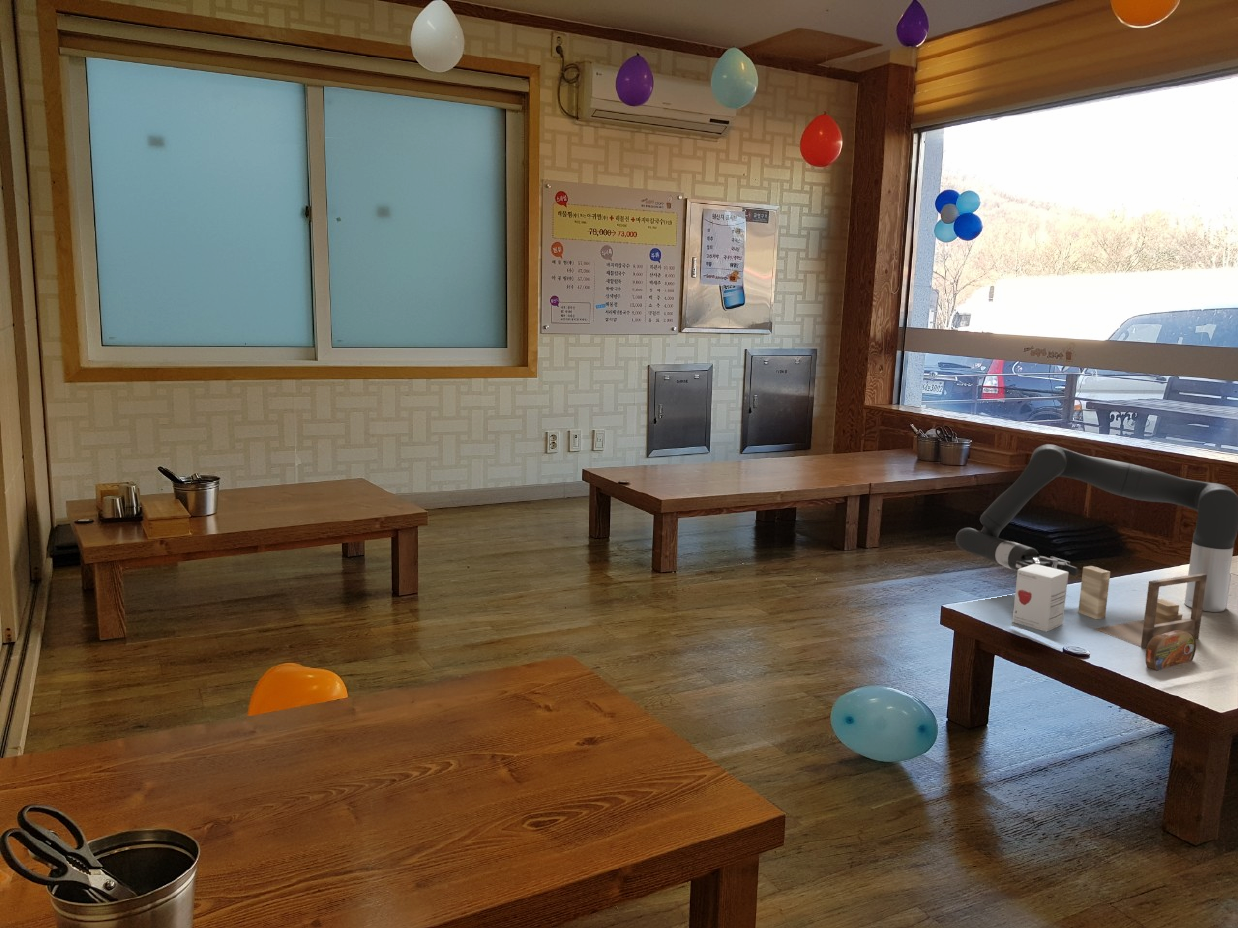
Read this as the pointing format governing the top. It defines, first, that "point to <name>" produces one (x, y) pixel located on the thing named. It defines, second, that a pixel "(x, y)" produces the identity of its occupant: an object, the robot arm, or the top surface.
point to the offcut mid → (1167, 618)
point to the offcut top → (1167, 607)
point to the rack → (1146, 628)
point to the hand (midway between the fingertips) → (1065, 573)
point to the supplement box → (1040, 597)
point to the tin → (1170, 649)
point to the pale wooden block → (1094, 592)
